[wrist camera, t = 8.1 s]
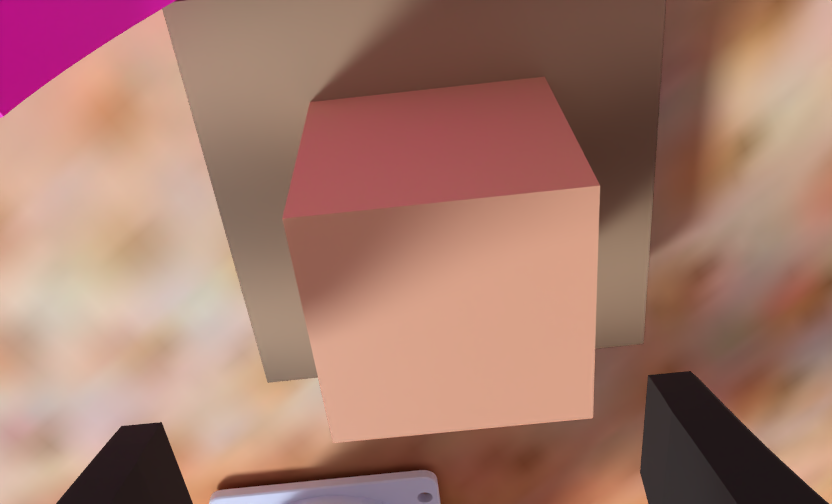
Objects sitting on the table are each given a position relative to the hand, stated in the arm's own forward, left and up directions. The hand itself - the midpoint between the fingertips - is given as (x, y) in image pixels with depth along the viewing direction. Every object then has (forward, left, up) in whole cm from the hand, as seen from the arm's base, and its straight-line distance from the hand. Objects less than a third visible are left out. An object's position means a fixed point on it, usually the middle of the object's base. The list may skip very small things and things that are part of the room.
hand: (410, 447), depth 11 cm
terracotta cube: (0, -1, -7) cm, 7 cm away
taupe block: (0, -1, -10) cm, 10 cm away
